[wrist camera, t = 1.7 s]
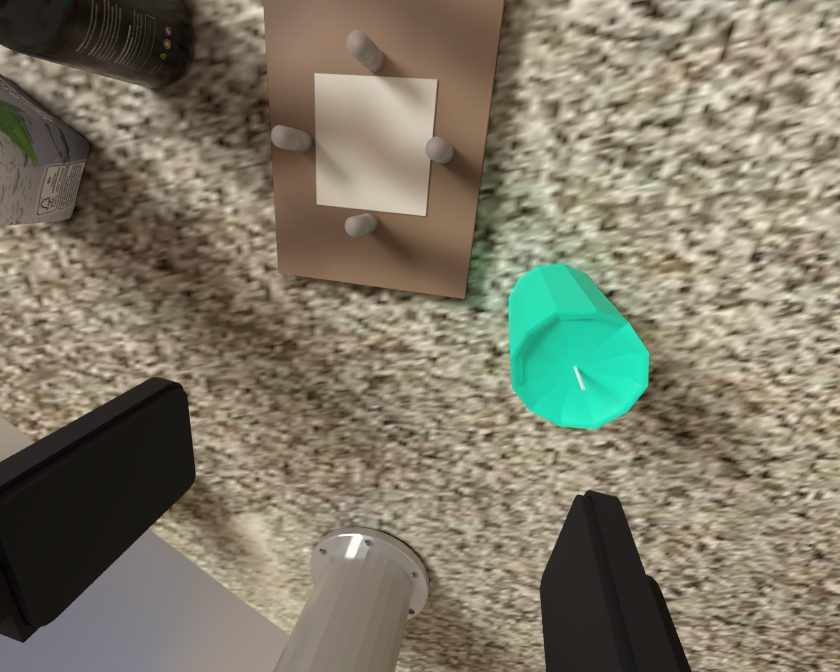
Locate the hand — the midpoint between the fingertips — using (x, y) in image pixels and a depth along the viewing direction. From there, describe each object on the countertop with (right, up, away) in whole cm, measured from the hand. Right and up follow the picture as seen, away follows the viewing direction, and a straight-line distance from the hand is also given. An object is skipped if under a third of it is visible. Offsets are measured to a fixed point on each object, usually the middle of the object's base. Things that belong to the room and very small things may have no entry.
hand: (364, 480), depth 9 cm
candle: (+11, +6, +18) cm, 22 cm away
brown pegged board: (-1, +16, +17) cm, 23 cm away
